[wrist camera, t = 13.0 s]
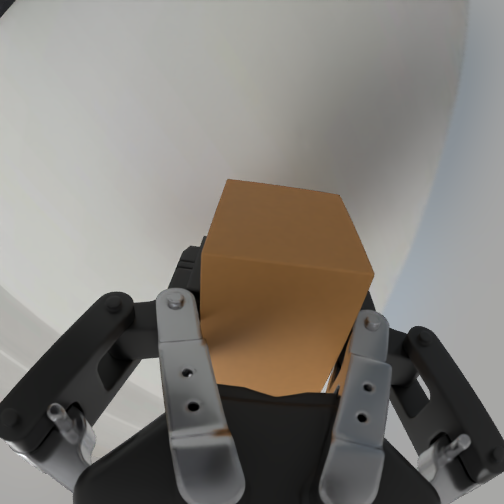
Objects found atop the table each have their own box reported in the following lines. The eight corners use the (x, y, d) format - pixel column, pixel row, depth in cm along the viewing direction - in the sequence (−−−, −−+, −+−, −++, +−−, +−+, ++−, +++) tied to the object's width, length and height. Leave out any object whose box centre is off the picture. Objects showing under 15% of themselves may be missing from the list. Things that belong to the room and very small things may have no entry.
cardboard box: (226, 178, 13) (200, 252, 8) (340, 194, 13) (375, 274, 8) (217, 301, 16) (199, 391, 12) (307, 311, 16) (315, 402, 12)
